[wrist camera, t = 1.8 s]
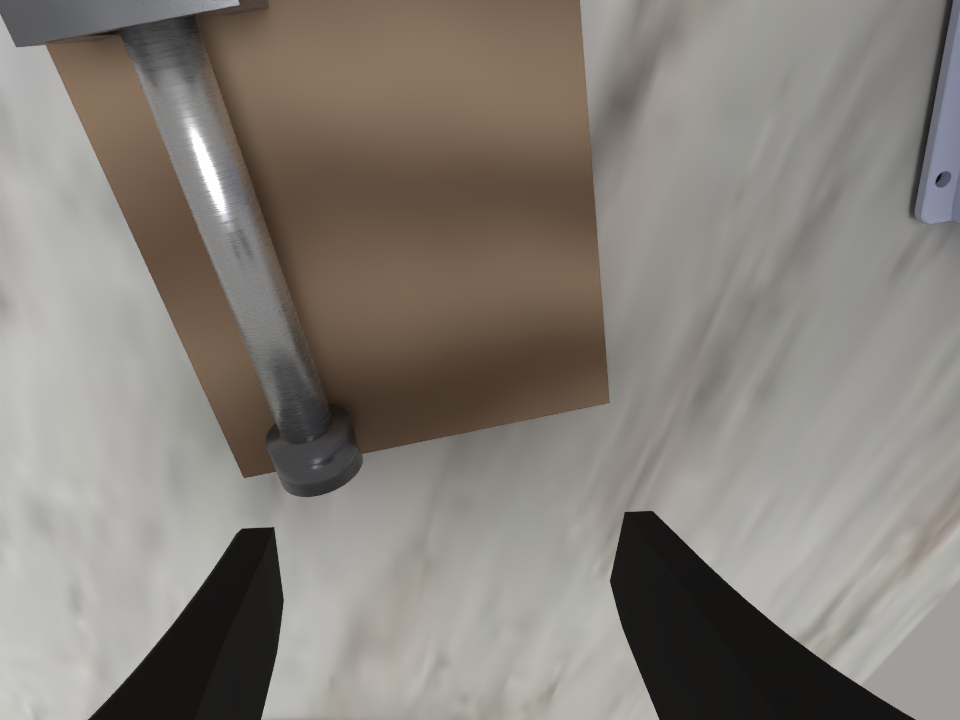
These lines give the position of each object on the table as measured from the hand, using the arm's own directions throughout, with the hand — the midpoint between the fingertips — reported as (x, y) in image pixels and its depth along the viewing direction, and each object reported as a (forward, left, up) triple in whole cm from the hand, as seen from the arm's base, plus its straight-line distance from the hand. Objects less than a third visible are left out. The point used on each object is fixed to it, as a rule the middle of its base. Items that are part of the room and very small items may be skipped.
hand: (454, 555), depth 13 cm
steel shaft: (+6, +4, -8) cm, 11 cm away
